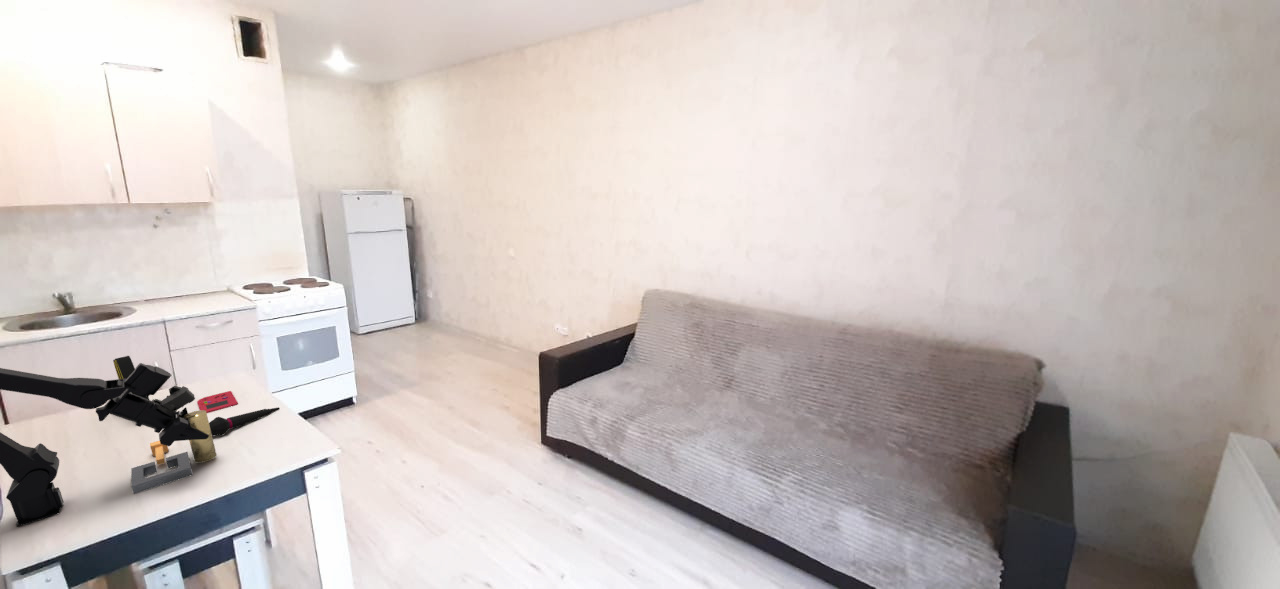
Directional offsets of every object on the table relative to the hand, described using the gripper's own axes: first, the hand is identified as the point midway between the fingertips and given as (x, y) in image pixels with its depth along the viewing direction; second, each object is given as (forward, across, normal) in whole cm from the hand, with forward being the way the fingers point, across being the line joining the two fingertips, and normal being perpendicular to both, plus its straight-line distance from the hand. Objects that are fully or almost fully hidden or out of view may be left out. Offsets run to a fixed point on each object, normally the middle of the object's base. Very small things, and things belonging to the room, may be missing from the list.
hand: (206, 433), depth 135 cm
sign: (-4, +53, +16) cm, 55 cm away
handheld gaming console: (+10, +45, +3) cm, 46 cm away
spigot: (+4, 0, +6) cm, 7 cm away
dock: (-2, 0, +13) cm, 13 cm away
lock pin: (-2, +11, +12) cm, 17 cm away
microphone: (+13, +18, -1) cm, 22 cm away
